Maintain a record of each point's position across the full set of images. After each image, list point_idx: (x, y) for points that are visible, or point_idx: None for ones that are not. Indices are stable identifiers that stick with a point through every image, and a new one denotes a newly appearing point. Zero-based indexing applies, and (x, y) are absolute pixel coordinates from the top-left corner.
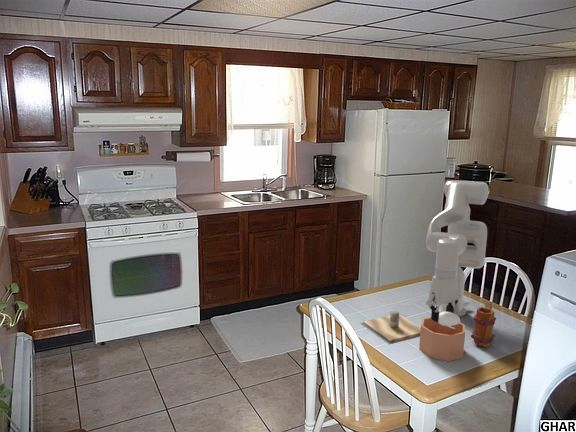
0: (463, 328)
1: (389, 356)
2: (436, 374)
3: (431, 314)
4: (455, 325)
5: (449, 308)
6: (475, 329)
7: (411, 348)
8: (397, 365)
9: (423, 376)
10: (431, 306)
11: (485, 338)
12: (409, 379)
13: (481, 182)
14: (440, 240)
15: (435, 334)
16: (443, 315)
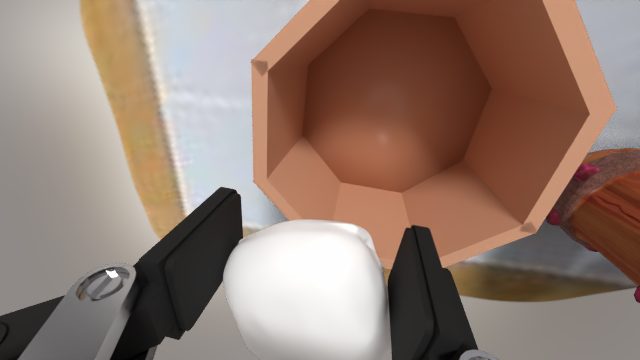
0: (469, 249)
1: (153, 26)
2: (242, 204)
3: (194, 211)
4: (536, 151)
5: (406, 349)
6: (633, 198)
7: (280, 25)
8: (154, 99)
9: (200, 189)
10: None
11: (580, 237)
12: (155, 176)
13: None
14: None
15: (266, 190)
16: (240, 330)
